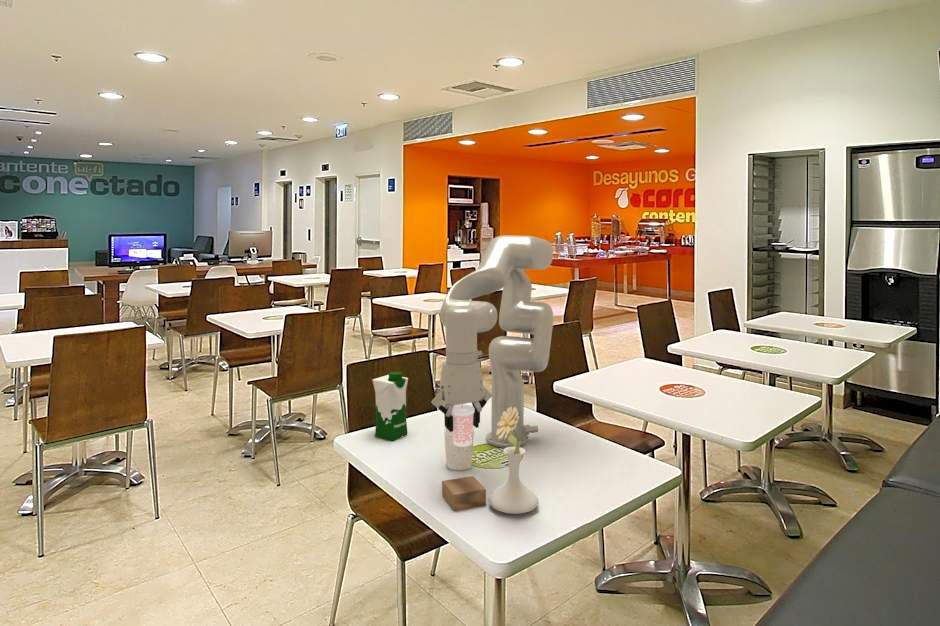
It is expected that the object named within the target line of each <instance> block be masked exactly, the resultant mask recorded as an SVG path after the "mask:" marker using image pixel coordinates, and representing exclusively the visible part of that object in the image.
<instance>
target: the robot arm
mask: <svg viewBox="0 0 940 626" xmlns="http://www.w3.org/2000/svg"><path fill="white" fill-rule="evenodd" d="M553 259H554V250H553V247H552V244H551V243H550V241H548V240H546V239H544V238H540V237H538V236H537V237H536V236H531V235H507V234H506V235H498V236H496V237H494V238H493V239H491V241H490V242H489V244H488V247H487V249H486V251H485V253H484V255H483V257H482V259H481V261H480V263H479V265H478V267H477V268H476V270H473V271H472V272H470V273H468V274H467V275H465V276H464V277H461V279H459V280H457V281H456V282H455V283H454V284H452V286H451V287H450V289H449V290H448V292H447V294H446V296H445V298H444V300H443V302H442V305H441V308H440V311H439V312H440V313H439V314H440V315H439V318H440V322H441V324H442V325H443V326H444V327H445V360H446V361H444V362H442V365H441V369H440V370H441V371H440V380H439V381H440V382H439V391H438V393H437V394H436V395H435V397H434V398H433V399H432V400H431V404H432V405H433V406H434V407H435V408H437V409H438V410H439V411H440V412H441V413H443V414H444V415H443V416H444V427H445V429H446V428H447V429H448V430H449V431H450V432H453V416H452V415H451V413H452V410H453V407H454V406H455V405H461V404H463V405H466V404H470V403H471V406H473V407H474V408H475V410H474V411H475V412H474V415H473V427H474V428H476V429H477V428H480V427H479V425H480V423H481V412H482V410H483V408H484V407H485V406H486V404H487V403H488V401H489V400H490V399H491V422H490V423H491V424H490V425H491V428H490V429H491V430H490V431H491V432H489V433H487V435H486V437H485V440H486V443H488V444H489V445H491V446H494V447H498V448H504V449H505V448H507V447H515V446H514V445H512V444H511V443H510V442H509V441H508V438H506V439H505V440H504V438H503V439H502V440H501V439H498V437H499V435H496V433H497V432H496V431H497V429H498V426H497V423H498V422H500V420H501V416H503V415H502V413H503V412H504V411H505V412H507V409H508V408H510V407H512V410H513V408H514V407H516V409H517V412H518V416H519V419H518V423H517V425H516V429H515V431H516V433H517V436H518V442H520V447H523V446H525V445H527V444H528V443H529V436H528V435H530V434H531V433H532V434H533V433H538V432H539V427H538V425H531V424H524V422H525V421H524V420H525V419H524V417H525V416H524V413H525V412H524V411H525V382H524V379H523V378H522V375H521V374H520V372H519V371H523V372H534V373H539V372H544V370H546V368H547V367H548V363H549V359H550V351H551V344H552V343H551V342H552V333H553V328H554V312H553V309H552V307H551V305H550V304H549V303H547V302H543V301H534V300H533V301H531V297H532V289H533V286H532V285H533V284H532V282H531V280H530V279H529V277H528V276H527V274H526V273H525V272H524V270H546V269H548V268H549V267H550V266H551V264H552V262H553ZM523 269H524V270H523ZM500 290H502V294H501V300H500V307H499V308H500V309H499V313H498V310H497V308H496V307H495V305H494V304H492V303H491V302H488V301H482V300H481V301H480V300H473V299H475V298H478V297H483V296H485V295H490V294H492V293H495V292H498V291H500ZM498 315H499V316H498ZM497 320H498V321H497ZM497 322H498V323H499V327H500V329H501V330H502V331H505V332H509V333H513V334H515V333H516V334H528V335H533V338H531V337H521V336H513V335H512V336H509V335H500V336H498V337H497V336H496V337H495V338H493V339H492V340H491V342H490V343H489V346H488V358H489V363H490V370H491V371H490V372H491V373H490V374H491V392H490V391H488V389H487V388H485V386H484V381H483V380H484V379H483V373H482V367H481V363H480V361H479V357H482V356H483V351H482V350H478V333H479V334H480V333H484V332H488V331H491V329H493V328H494V327H495V325H496V323H497ZM441 401H444V406H443V405H442V404H441V403H440V402H441ZM518 416H517V417H518ZM512 435H513V436H514V437H515V438H516V435H515V432H514V430H513V433H512ZM516 439H517V438H516Z"/></svg>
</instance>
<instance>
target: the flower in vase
mask: <svg viewBox="0 0 940 626" xmlns="http://www.w3.org/2000/svg"><path fill="white" fill-rule="evenodd" d="M502 415H503V416H501V420H500V422H498V423H497V426H498V429H497V431H496V432H497V433H496V435H499V437H498V439H501V440H502V439H503V438H504V440H505V439H506V438H508V441H509V442H510V443H511V444H512V445H514V446H515V447H507V448H504V449H503V451H502V452H503V453H504V454H505V456H506V458H507V461H508V479H507V481H506V482H505V483H504V484H501V485H500V486H499V487H497V488H496V489H494V491H492V492H491V494H490V496H489V498H488V502H489V504H490V505H491V507H492V508H493V509H495V510H497V511H499V512H501V513H504V514H509V515H510V514H511V515H512V514H513V515H514V514H515V515H519V514H525V513H528V512H532V511H533V510H535V509H536V508H537V506H538V504H539V498H538V495H536V493H535V492H534V491H533V490H531V489H530V487H528V486H526V485H525V484H524V483H523V482H521V479H520V472H519V471H520V463H521V460H522V457H523V456H524V455H525V453H526V449H524V448H523V447H521V446H520V442H518V436H517V433H516V431H515V429H516V425H517V423H518V419H519V416H518V412H517V409H516V407H514V408H513V410H512V407H510V408H508V409H507V412H505V411H504V412H503V413H502ZM517 416H518V417H517ZM513 430H514V432H515V435H516V438H517V439H516V438H515V437H514V436H513V435H512V433H513Z"/></svg>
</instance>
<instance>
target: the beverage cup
mask: <svg viewBox="0 0 940 626" xmlns="http://www.w3.org/2000/svg"><path fill="white" fill-rule="evenodd" d="M474 410H475V408H474V407H473V405H469V404H458V405H454V407H453V410H452V413H451V415H452V416H453V443H454V445H455V446H459V447H467V446H470V445H471V444H472V434H473V429H474V428H473V427H474V426H473V415H474V412H475V411H474Z"/></svg>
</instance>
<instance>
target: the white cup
mask: <svg viewBox="0 0 940 626" xmlns="http://www.w3.org/2000/svg"><path fill="white" fill-rule="evenodd" d="M474 431H475V430H474V428H473V434H472V444H471V445H470V446H467V447H459V446H455V445H454V443H453V432H450V431H449V430H448V429H447V428H446V427H445V429H444V432H443V433H444V434H443V435H444V449H445V459H446V461H445V463H446V464H445V465H446V468H448V469H449V470H452V471H465V470H468V469H470V468H471V467H472V465H473V455H474V453H473V451H474V435H475V433H474Z"/></svg>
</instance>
